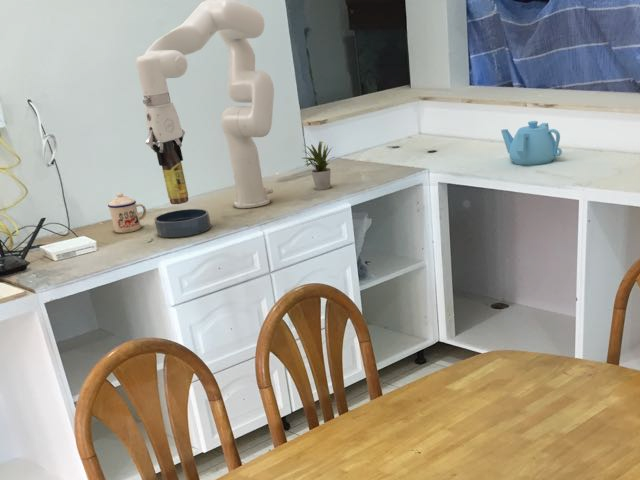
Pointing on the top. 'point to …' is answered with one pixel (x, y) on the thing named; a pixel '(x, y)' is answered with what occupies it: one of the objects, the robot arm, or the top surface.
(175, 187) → the sauce bottle
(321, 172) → the house plant
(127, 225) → the teacup with lid
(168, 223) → the bowl
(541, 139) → the teapot
